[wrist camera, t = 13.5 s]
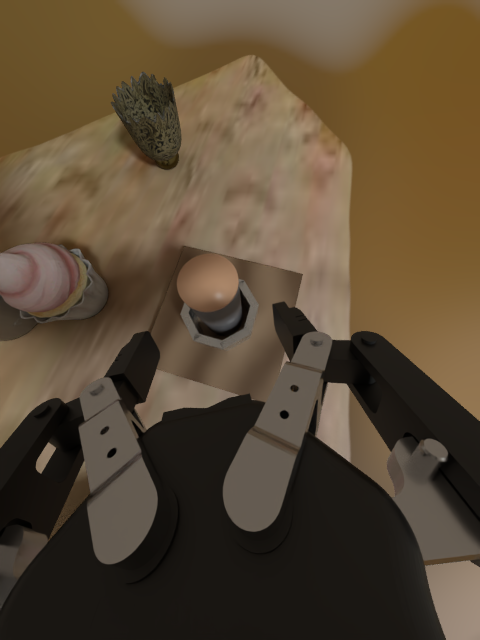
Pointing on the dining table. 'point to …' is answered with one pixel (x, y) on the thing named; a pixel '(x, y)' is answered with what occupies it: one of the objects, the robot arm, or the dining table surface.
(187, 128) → the dining table surface
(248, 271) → the board
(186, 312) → the grey octagonal sleeve
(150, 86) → the cup
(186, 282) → the grey cylinder tan top
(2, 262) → the cupcake
